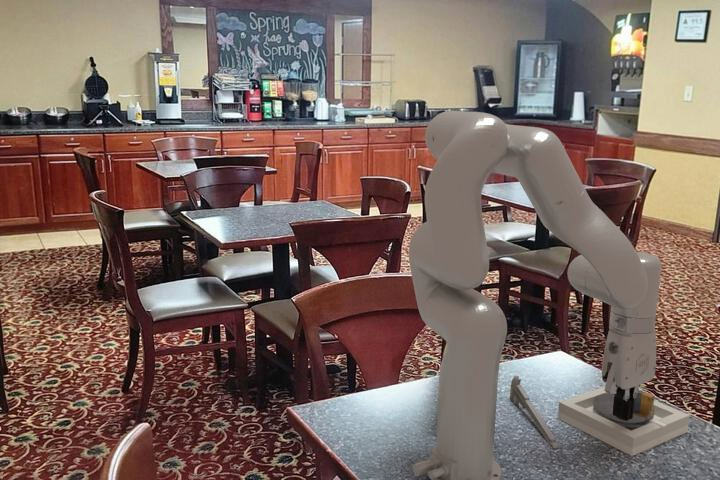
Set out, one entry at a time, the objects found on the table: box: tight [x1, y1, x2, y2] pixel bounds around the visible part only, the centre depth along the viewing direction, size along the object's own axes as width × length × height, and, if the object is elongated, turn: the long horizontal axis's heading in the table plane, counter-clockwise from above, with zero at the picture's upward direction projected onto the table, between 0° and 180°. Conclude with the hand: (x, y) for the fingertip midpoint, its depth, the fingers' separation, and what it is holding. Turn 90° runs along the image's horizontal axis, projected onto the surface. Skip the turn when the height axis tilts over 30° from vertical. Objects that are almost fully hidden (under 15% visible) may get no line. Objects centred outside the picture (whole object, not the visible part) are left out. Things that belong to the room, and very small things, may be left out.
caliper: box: [509, 375, 559, 449], centre depth 135 cm, size 20×1×6 cm, turn 11°
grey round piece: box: [593, 389, 655, 431], centre depth 134 cm, size 11×11×6 cm
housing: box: [557, 386, 691, 457], centre depth 134 cm, size 17×17×4 cm
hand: (622, 416), depth 127 cm, fingers closed
